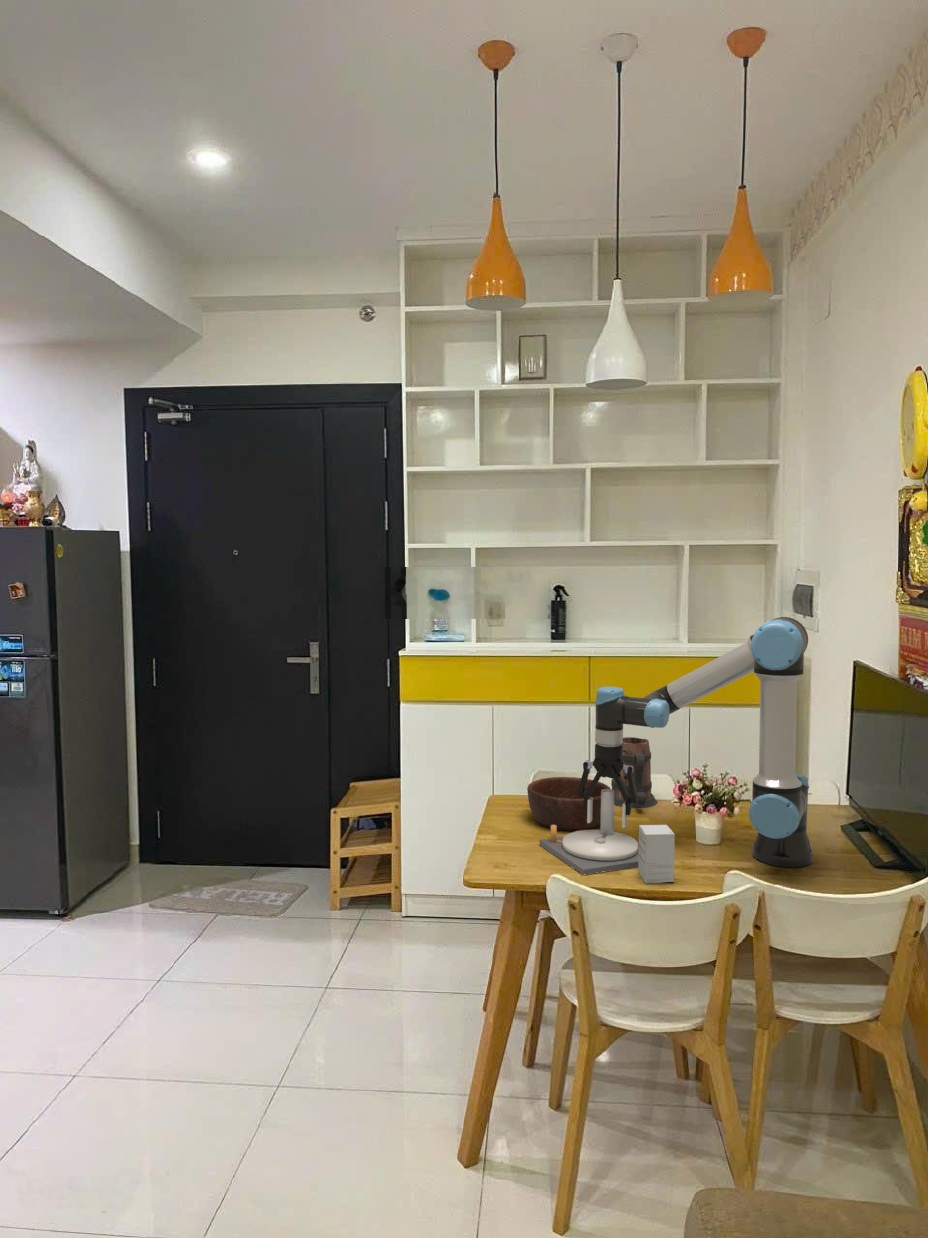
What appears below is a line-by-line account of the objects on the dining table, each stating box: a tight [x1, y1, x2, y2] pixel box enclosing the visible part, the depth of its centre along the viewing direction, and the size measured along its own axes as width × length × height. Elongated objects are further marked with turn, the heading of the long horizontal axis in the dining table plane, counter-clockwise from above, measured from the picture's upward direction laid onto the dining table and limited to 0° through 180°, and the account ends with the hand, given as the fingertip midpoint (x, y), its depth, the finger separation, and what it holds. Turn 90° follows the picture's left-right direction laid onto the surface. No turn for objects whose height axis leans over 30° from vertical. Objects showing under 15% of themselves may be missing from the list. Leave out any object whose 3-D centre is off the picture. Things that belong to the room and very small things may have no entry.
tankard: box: [610, 736, 658, 809], centre depth 283 cm, size 24×17×20 cm
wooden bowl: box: [527, 776, 611, 832], centre depth 265 cm, size 25×25×10 cm
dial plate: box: [539, 825, 639, 876], centre depth 237 cm, size 24×24×6 cm
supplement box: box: [637, 824, 676, 884], centre depth 220 cm, size 7×7×13 cm
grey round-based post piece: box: [563, 788, 639, 861], centre depth 237 cm, size 20×20×14 cm
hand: (606, 824), depth 244 cm, fingers open, 9 cm apart
